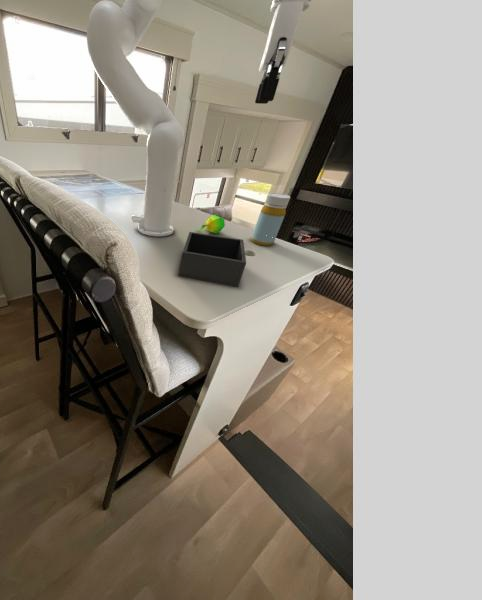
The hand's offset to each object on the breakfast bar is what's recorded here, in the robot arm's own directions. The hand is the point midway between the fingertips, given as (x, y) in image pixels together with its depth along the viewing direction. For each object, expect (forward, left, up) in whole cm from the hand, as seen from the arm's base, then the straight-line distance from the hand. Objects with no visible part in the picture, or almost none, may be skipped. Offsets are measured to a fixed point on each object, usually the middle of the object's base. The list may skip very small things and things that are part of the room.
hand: (263, 102), depth 63 cm
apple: (-5, +6, -37) cm, 38 cm away
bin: (-4, -22, -37) cm, 43 cm away
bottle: (+12, +4, -37) cm, 39 cm away
